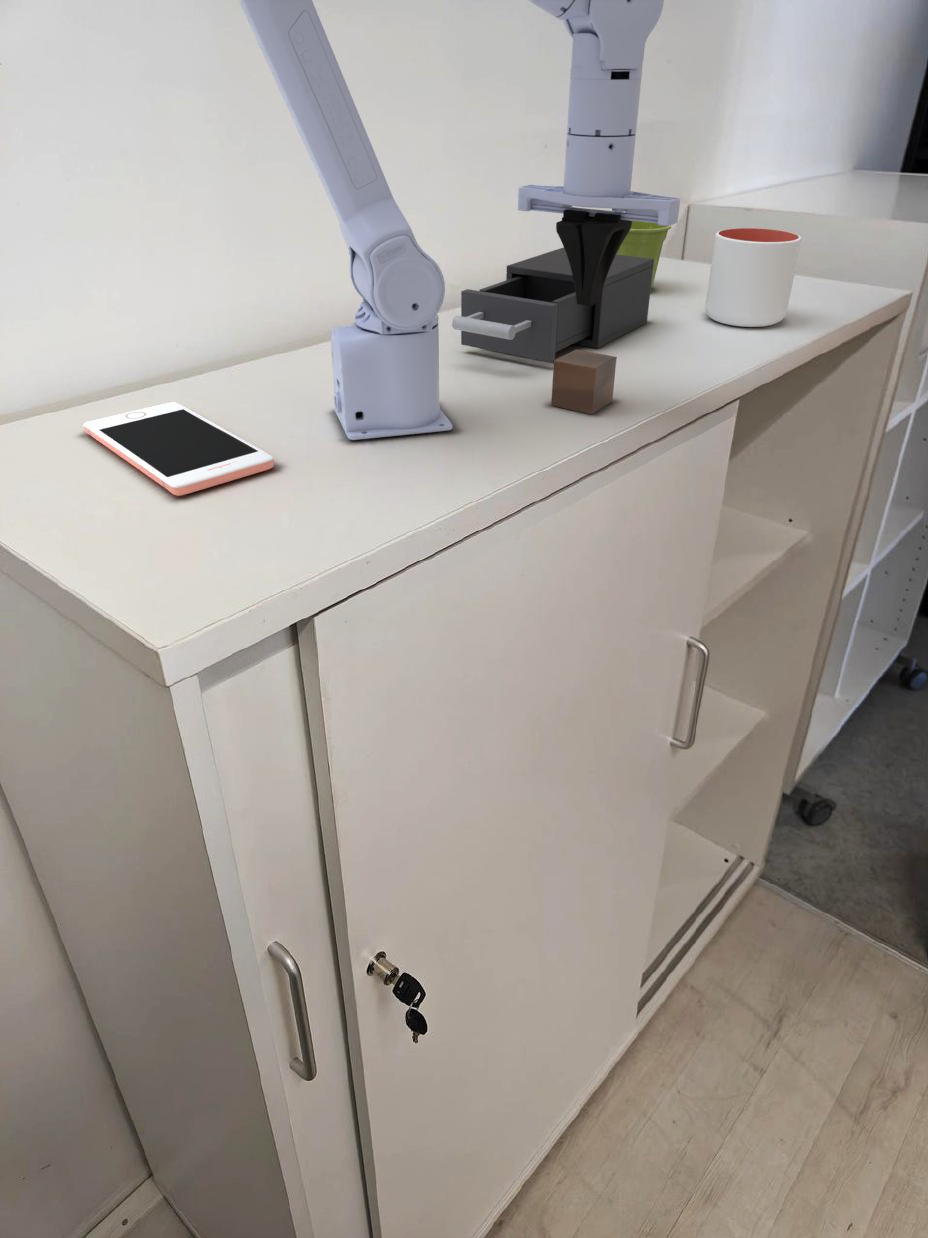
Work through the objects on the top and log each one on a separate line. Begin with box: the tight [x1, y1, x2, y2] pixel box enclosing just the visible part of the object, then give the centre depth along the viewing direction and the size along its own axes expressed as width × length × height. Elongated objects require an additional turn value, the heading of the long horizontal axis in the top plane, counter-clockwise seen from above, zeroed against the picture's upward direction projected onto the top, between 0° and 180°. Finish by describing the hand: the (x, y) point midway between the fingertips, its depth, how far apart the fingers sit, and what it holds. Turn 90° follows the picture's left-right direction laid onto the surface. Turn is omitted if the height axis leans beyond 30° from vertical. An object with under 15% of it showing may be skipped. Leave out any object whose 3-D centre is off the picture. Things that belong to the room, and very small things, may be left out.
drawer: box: [452, 275, 595, 363], centre depth 98 cm, size 17×11×6 cm, turn 146°
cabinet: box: [505, 247, 654, 350], centre depth 107 cm, size 14×13×8 cm
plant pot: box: [616, 221, 672, 290], centre depth 124 cm, size 9×9×9 cm
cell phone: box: [83, 401, 275, 497], centre depth 75 cm, size 9×18×1 cm, turn 41°
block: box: [550, 349, 617, 415], centre depth 85 cm, size 4×4×4 cm
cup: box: [704, 227, 802, 328], centre depth 110 cm, size 10×10×10 cm
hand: (588, 302), depth 81 cm, fingers closed
